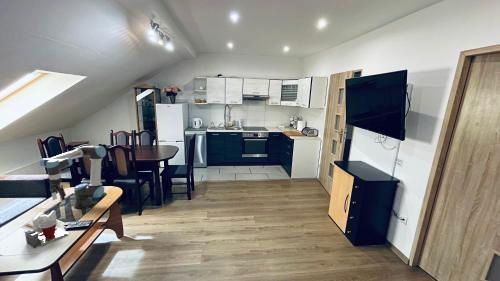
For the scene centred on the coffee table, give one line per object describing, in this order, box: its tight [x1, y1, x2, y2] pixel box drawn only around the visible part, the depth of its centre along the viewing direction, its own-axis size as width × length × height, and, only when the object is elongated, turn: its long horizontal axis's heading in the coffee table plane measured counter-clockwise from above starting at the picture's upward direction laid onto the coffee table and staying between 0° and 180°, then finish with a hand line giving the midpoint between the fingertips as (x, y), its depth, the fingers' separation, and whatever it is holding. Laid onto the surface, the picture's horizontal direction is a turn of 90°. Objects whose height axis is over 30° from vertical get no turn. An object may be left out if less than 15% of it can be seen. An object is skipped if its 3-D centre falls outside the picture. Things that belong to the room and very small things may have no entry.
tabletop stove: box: [24, 226, 70, 249], centre depth 169 cm, size 22×17×12 cm
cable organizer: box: [31, 210, 58, 232], centre depth 184 cm, size 15×11×12 cm
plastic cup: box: [39, 219, 58, 238], centre depth 171 cm, size 11×11×12 cm
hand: (59, 201), depth 178 cm, fingers open, 13 cm apart
